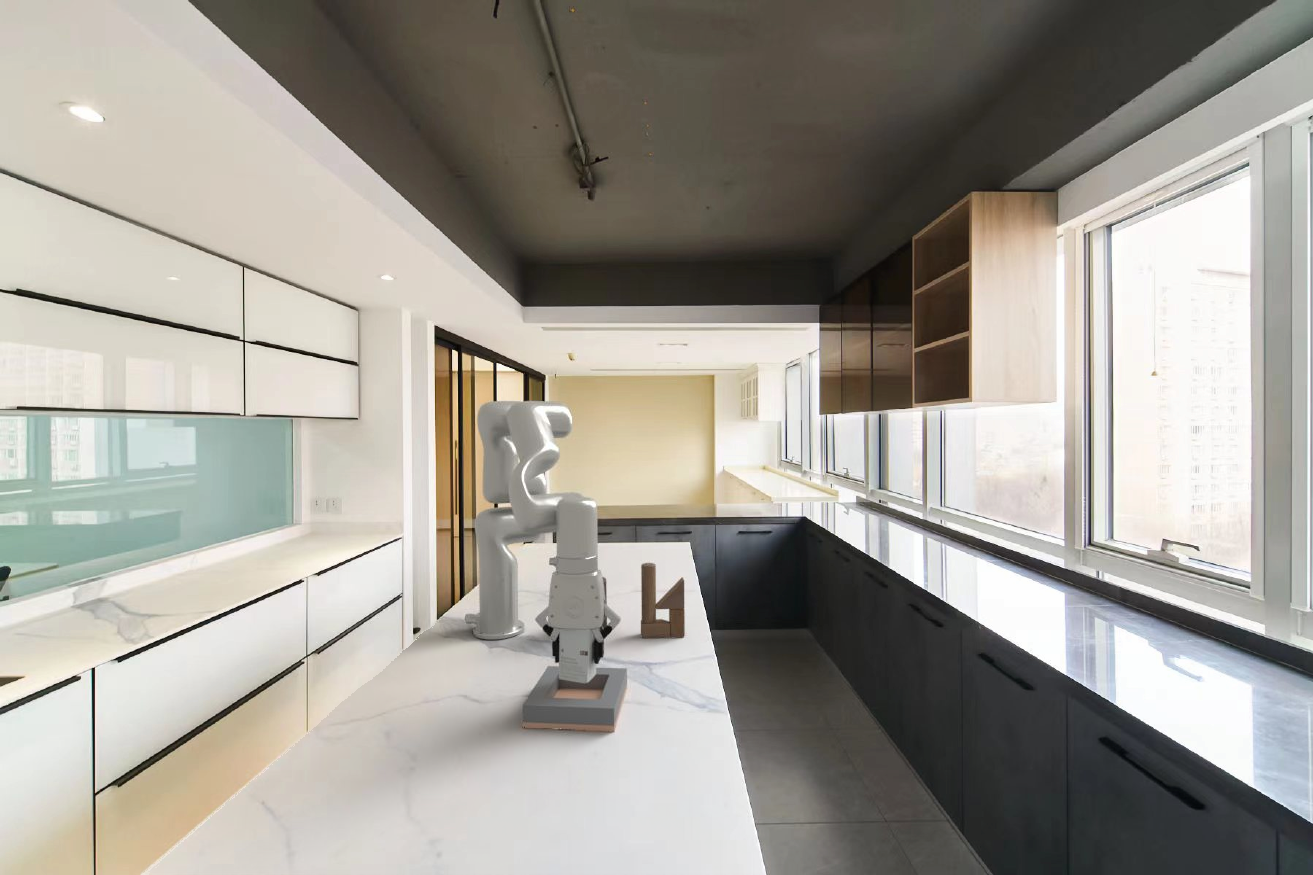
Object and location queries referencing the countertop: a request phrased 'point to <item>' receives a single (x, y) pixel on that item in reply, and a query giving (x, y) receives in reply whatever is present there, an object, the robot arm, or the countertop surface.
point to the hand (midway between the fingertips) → (578, 659)
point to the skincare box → (576, 655)
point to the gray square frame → (576, 701)
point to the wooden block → (661, 607)
